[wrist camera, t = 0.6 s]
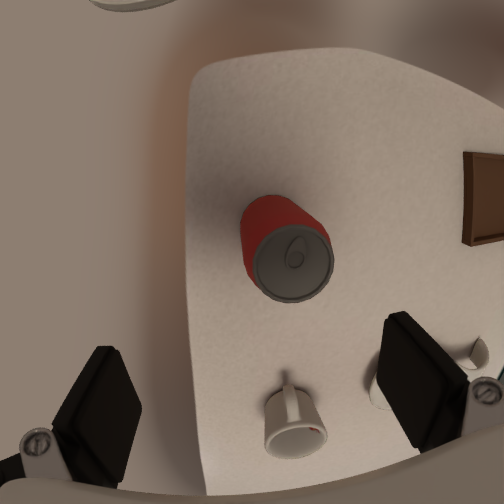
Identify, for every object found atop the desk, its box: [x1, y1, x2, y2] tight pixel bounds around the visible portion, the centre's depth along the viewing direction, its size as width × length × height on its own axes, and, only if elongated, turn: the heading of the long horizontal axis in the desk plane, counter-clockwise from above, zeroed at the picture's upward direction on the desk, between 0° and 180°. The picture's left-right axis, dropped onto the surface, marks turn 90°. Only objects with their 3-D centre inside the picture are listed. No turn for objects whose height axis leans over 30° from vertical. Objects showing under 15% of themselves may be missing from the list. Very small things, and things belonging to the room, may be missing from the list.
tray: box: [462, 152, 504, 247], centre depth 31 cm, size 12×14×2 cm
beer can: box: [240, 195, 334, 303], centre depth 25 cm, size 7×7×12 cm
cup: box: [265, 385, 327, 459], centre depth 35 cm, size 11×8×8 cm
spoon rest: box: [369, 339, 489, 410], centre depth 36 cm, size 24×12×7 cm, turn 91°
